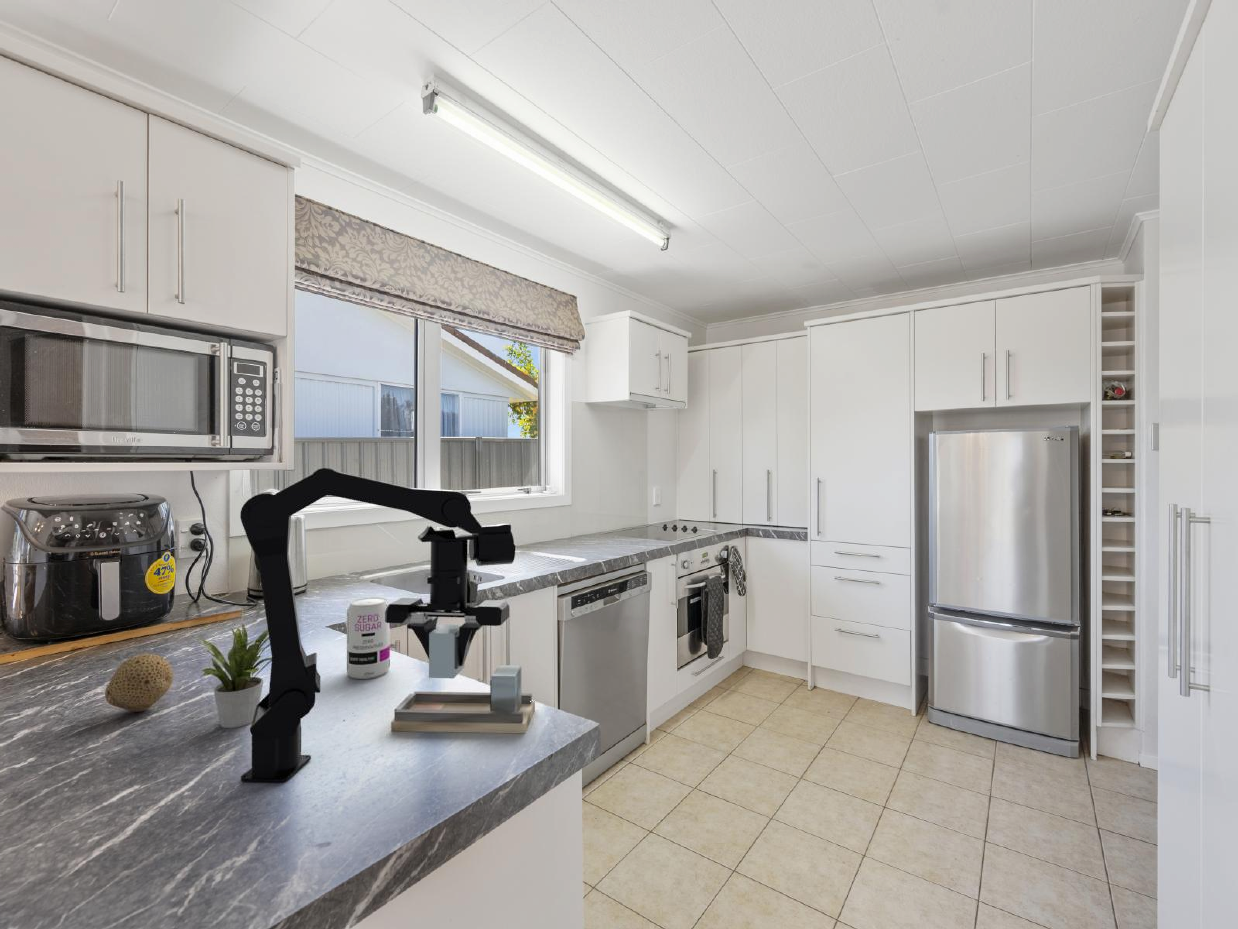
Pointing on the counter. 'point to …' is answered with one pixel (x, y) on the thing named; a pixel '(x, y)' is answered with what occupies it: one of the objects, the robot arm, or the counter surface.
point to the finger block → (444, 652)
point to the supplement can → (367, 638)
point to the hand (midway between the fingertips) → (447, 664)
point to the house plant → (237, 679)
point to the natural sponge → (139, 682)
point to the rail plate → (469, 708)
